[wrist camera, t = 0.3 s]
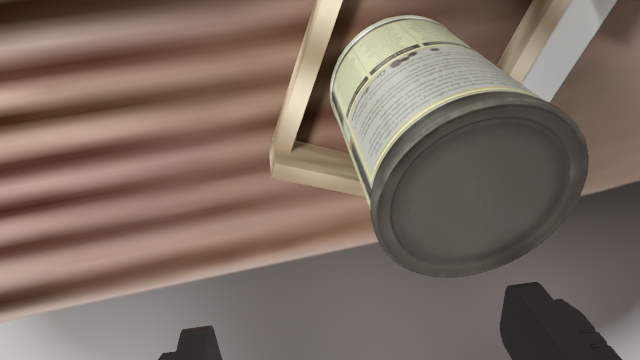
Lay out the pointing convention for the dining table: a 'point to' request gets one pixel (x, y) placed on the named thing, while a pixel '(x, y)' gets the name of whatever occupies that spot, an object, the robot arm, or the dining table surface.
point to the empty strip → (565, 46)
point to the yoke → (285, 152)
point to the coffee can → (452, 149)
